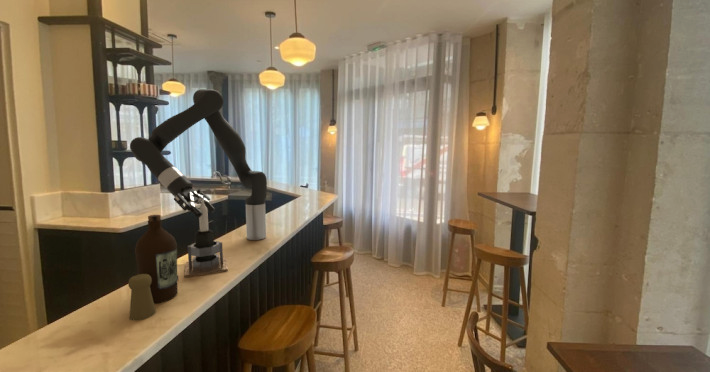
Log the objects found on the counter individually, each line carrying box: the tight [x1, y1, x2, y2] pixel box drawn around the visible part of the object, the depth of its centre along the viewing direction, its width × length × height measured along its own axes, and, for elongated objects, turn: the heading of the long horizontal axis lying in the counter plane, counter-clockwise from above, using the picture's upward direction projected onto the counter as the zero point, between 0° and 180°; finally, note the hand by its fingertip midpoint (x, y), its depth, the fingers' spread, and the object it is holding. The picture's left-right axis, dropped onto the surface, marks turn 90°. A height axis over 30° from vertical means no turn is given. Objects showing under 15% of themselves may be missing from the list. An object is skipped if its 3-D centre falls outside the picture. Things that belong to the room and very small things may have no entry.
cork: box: [127, 273, 157, 321], centre depth 86 cm, size 6×6×11 cm
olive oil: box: [134, 214, 179, 304], centre depth 96 cm, size 11×11×25 cm
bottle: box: [194, 200, 215, 261], centre depth 119 cm, size 5×5×25 cm
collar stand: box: [183, 240, 228, 278], centre depth 120 cm, size 14×14×9 cm
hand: (207, 213), depth 118 cm, fingers open, 8 cm apart
